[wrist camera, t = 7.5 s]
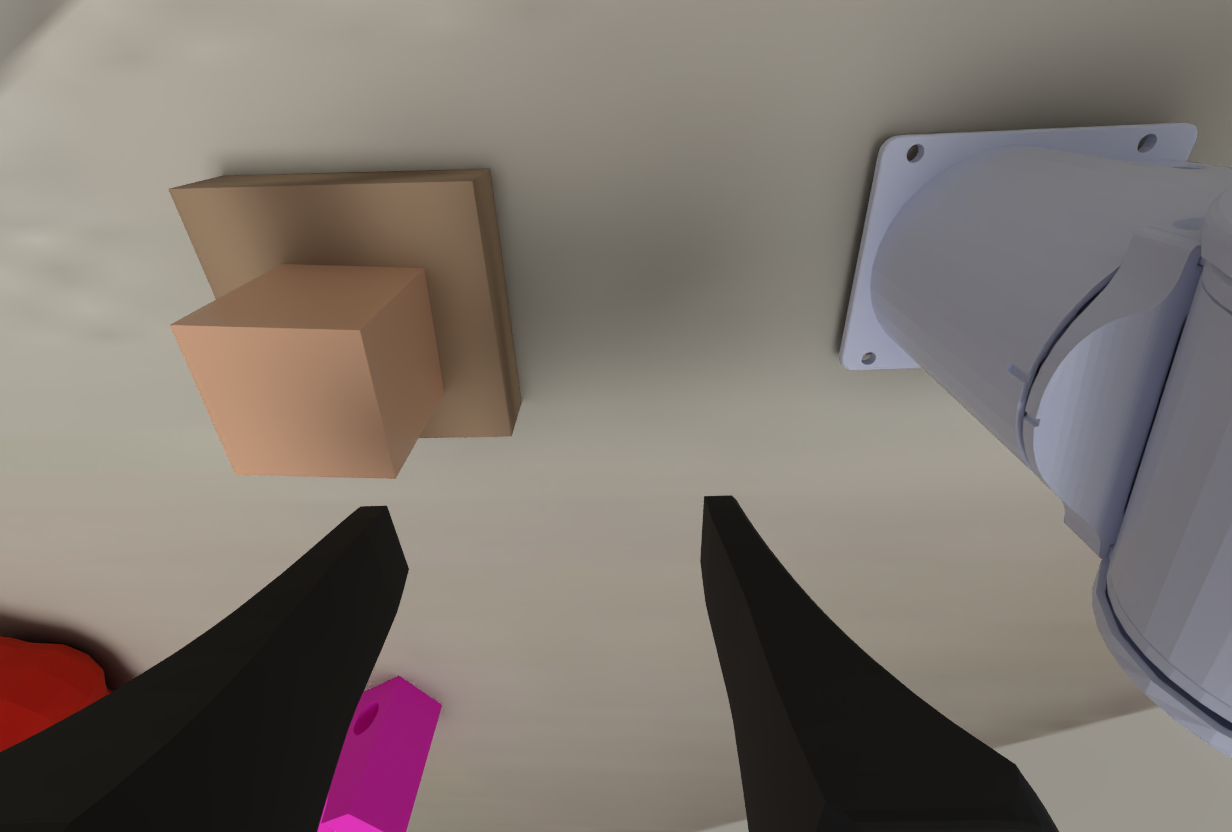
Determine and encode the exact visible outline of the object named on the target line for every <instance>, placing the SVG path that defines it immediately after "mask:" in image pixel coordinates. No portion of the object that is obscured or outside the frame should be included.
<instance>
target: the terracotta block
mask: <svg viewBox="0 0 1232 832" xmlns="http://www.w3.org/2000/svg"><path fill="white" fill-rule="evenodd" d="M170 327H171V329H172V331H173V333H174V336H175V338H176V340H177V343H178V345H179V347H180V349H181V352H182V354H183V356H184V359H185V361H186V363H187V365H188V368H189V370H190V372H191V375H192V377H193V379H194V381H195V384H196V386H197V388H198V391H199V393H200V395H201V397H202V400H203V402H204V404H205V406H206V409H207V411H208V413H209V416H210V418H211V420H212V422H213V425H214V427H215V429H216V432H217V434H218V436H219V438H220V441H221V443H222V445H223V448H224V450H225V452H226V454H227V457H228V459H229V461H230V464H231V466H232V468H233V470H234V473H235V475H270V476H309V477H349V478H389V479H396V477H397V475H398V473H399V472H400V470H401V468H402V466H403V464H404V463H405V461H406V459H407V457H408V456H409V454H410V452H411V450H412V448H413V447H414V445H415V443H416V441H417V440H418V438H419V436H420V434H421V432H422V431H423V429H424V427H425V425H426V423H427V422H428V420H429V418H430V416H431V415H432V413H433V411H434V409H435V407H436V406H437V404H438V402H439V400H440V399H441V397H442V395H443V393H444V387H443V381H442V374H441V368H440V362H439V356H438V350H437V344H436V337H435V331H434V325H433V319H432V313H431V306H430V300H429V294H428V288H427V282H426V276H425V269H424V268H404V267H370V266H335V265H300V264H281V265H279V266H277V267H275V268H273V269H271V270H270V271H268V272H266V273H264V274H262V275H261V276H259V277H257V278H255V279H253V280H251V281H250V282H248V283H246V284H244V285H242V286H240V287H239V288H237V289H235V290H233V291H231V292H229V293H228V294H226V295H224V296H222V297H220V298H218V299H217V300H215V301H213V302H211V303H209V304H207V305H206V306H204V307H202V308H200V309H198V310H196V311H195V312H193V313H191V314H189V315H187V316H186V317H184V318H182V319H180V320H178V321H176V322H175V323H173V324H171V325H170Z"/></svg>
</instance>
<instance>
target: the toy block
mask: <svg viewBox="0 0 1232 832" xmlns="http://www.w3.org/2000/svg"><path fill="white" fill-rule="evenodd" d="M441 707H442V705H441V704H440V703H438V702H437V701H435V700H434V699H432V698H431V697H429V696H428V695H427V694H425V693H424V692H422V691H421V690H419V689H418V688H416V687H415V686H413V685H412V684H410V683H409V682H407V681H406V680H404V679H403V678H402V677H400V676H398V677H395V678H393V679H391V680H389V681H387V682H385V683H382V684H380V685H378V686H376V687H374V688H372V689H369V690H367V691H365V692H363V694H362V696H361V698H360V701H359V703H358V705H357V708H356V710H355V713H354V716H353V718H352V721H351V723H350V726H349V729H348V732H347V735H346V738H345V741H344V744H343V747H342V751H341V754H340V757H339V760H338V763H337V766H336V770H335V773H334V776H333V779H332V783H331V786H330V790H329V793H328V796H327V800H326V803H325V807H324V810H323V814H322V817H321V821H320V824H319V827H318V831H317V832H334V831H336V832H406V830H407V827H408V823H409V819H410V816H411V812H412V809H413V805H414V802H415V798H416V795H417V791H418V788H419V784H420V781H421V777H422V774H423V770H424V767H425V763H426V759H427V756H428V752H429V749H430V745H431V742H432V738H433V735H434V731H435V728H436V724H437V721H438V717H439V714H440V710H441Z"/></svg>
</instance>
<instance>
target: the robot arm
mask: <svg viewBox="0 0 1232 832" xmlns="http://www.w3.org/2000/svg"><path fill="white" fill-rule="evenodd" d="M1144 136H1146V141H1145V143H1144V145H1143V146H1142V147H1141V148H1140V149H1137V148H1138V143H1139V142H1140V140H1141V139H1142V138H1143V137H1144ZM1197 136H1198V130H1197V127H1196V126H1195V125H1194V124H1189V123H1158V124H1136V125H1114V126H1092V127H1069V128H1047V129H1025V130H1002V131H980V132H958V133H936V134H913V135H897V136H893V137H890V138H889V139H888V140H886V141H885V142H884V143H883V145H882V146H881V148H880V150H879V153H878V157H877V162H876V167H875V173H874V178H873V183H872V188H871V193H870V198H869V203H868V209H867V214H866V219H865V224H864V229H863V234H862V239H861V245H860V250H859V255H858V260H857V265H856V270H855V275H854V281H853V286H852V291H851V296H850V301H849V306H848V311H847V317H846V322H845V327H844V332H843V337H842V342H841V347H840V353H839V361H840V363H841V364H842V365H843V367H844V368H846V369H847V370H877V369H906V368H923V369H924V370H925V371H926V372H927V373H928V374H929V375H930V376H931V377H932V378H933V379H934V380H935V381H937V382H938V383H939V384H940V385H941V386H942V387H943V388H944V389H945V390H946V391H947V392H948V393H949V394H950V395H951V396H952V397H954V398H955V399H956V400H957V401H958V402H959V403H960V404H961V405H962V406H963V407H964V408H965V409H966V410H967V411H968V412H969V413H971V414H972V415H973V416H974V417H975V418H976V419H977V420H978V421H979V422H980V423H981V424H982V425H983V426H984V427H985V428H986V429H987V430H989V431H990V432H991V433H992V434H993V435H994V436H995V437H996V438H997V439H998V440H999V441H1000V442H1001V443H1002V444H1003V445H1004V446H1006V447H1007V448H1008V449H1009V450H1010V451H1011V452H1012V453H1013V454H1014V455H1015V456H1016V457H1017V458H1018V459H1019V460H1020V461H1021V462H1023V463H1024V464H1025V465H1026V466H1027V467H1028V468H1029V469H1030V470H1031V471H1032V472H1033V473H1034V474H1035V475H1037V476H1038V477H1039V478H1040V480H1041V481H1042V482H1043V483H1044V484H1045V485H1046V486H1047V487H1048V488H1049V489H1051V490H1052V491H1053V492H1054V493H1055V494H1056V495H1057V496H1058V497H1059V498H1060V499H1061V500H1062V502H1063V505H1064V509H1065V515H1064V523H1065V524H1066V525H1067V526H1068V527H1069V528H1070V529H1071V530H1072V531H1073V532H1074V533H1076V534H1077V535H1078V536H1079V537H1080V538H1081V539H1082V540H1083V541H1084V542H1085V543H1086V544H1087V545H1088V546H1089V547H1090V548H1091V549H1092V550H1093V551H1094V552H1095V553H1096V554H1097V555H1098V556H1099V557H1100V558H1102V559H1103V560H1102V561H1101V563H1100V566H1099V569H1098V572H1097V575H1096V578H1095V581H1094V585H1093V588H1092V606H1093V610H1094V614H1095V619H1096V623H1097V627H1098V629H1099V631H1100V633H1101V635H1102V637H1103V639H1104V641H1105V643H1106V645H1107V647H1108V649H1109V650H1110V652H1111V653H1112V655H1113V656H1114V658H1115V659H1116V660H1117V662H1118V663H1119V665H1120V666H1121V667H1122V669H1123V670H1124V671H1125V673H1126V674H1127V675H1128V676H1129V677H1130V678H1131V679H1132V680H1133V681H1134V682H1135V683H1136V685H1137V686H1138V687H1139V688H1140V689H1141V690H1142V691H1143V692H1144V693H1145V694H1146V695H1147V696H1148V697H1149V698H1150V699H1151V700H1152V701H1154V702H1155V703H1156V704H1157V705H1158V706H1159V707H1160V708H1162V709H1163V710H1164V711H1165V712H1166V713H1167V714H1168V715H1170V716H1171V717H1172V718H1173V719H1174V720H1176V721H1177V722H1178V723H1180V724H1181V725H1182V726H1184V727H1185V728H1187V729H1188V730H1189V731H1191V732H1192V733H1193V734H1195V735H1196V736H1198V737H1199V738H1200V739H1202V740H1203V741H1204V742H1206V743H1207V744H1209V745H1210V746H1212V747H1213V748H1215V749H1217V750H1218V751H1220V752H1222V753H1224V754H1225V755H1227V756H1228V757H1230V758H1232V168H1229V167H1222V166H1215V165H1208V164H1201V163H1194V162H1186V161H1187V159H1188V157H1189V155H1190V153H1191V151H1192V149H1193V146H1194V144H1195V142H1196V139H1197ZM913 145H917V146H918V153H917V155H916V157H915V158H914V159H913V160H911V161H908V160H907V152H908V150H909V149H910V148H911V147H912V146H913ZM869 352H872V355H871V356H870V358H868V359H867V360H862V357H863V355H865V354H866V353H869ZM700 562H701V570H702V578H703V586H704V594H705V602H706V607H707V611H708V615H709V620H710V624H711V628H712V632H713V636H714V640H715V645H716V649H717V653H718V657H719V661H720V665H721V669H722V674H723V678H724V682H725V686H726V690H727V694H728V698H729V703H730V708H731V713H732V718H733V724H734V730H735V737H736V744H737V751H738V757H739V764H740V771H741V778H742V785H743V792H744V800H745V807H746V814H747V821H748V829H749V832H1059V831H1058V829H1057V827H1056V825H1055V824H1054V822H1053V820H1052V819H1051V817H1050V815H1049V814H1048V812H1047V810H1046V809H1045V807H1044V805H1043V804H1042V802H1041V801H1040V799H1039V798H1038V796H1037V794H1036V793H1035V792H1034V790H1033V789H1032V787H1031V786H1030V785H1029V783H1028V782H1027V781H1026V779H1025V778H1024V776H1023V775H1022V774H1021V772H1020V770H1019V769H1018V768H1017V766H1016V765H1015V764H1014V763H1012V762H1011V761H1009V760H1008V759H1006V758H1005V757H1003V756H1002V755H1000V754H999V753H997V752H996V751H995V750H993V749H992V748H990V747H989V746H987V745H986V744H984V743H983V742H981V741H980V740H978V739H977V738H975V737H974V736H972V735H971V734H969V733H968V732H966V731H965V730H963V729H962V728H961V727H959V726H958V725H956V724H955V723H953V722H952V721H950V720H949V719H948V718H946V717H945V716H944V715H942V714H941V713H940V712H938V711H937V710H936V709H934V708H933V707H932V706H930V705H929V704H928V703H926V702H925V701H924V700H922V699H921V698H920V697H918V696H917V695H916V694H914V693H913V692H912V691H911V690H910V689H908V688H907V687H906V686H905V685H904V684H902V683H901V682H900V681H899V680H897V679H896V678H895V677H894V676H893V675H891V674H890V673H889V672H888V671H887V670H885V669H884V668H883V667H882V666H881V665H879V664H878V663H877V662H876V661H875V660H873V659H872V658H871V657H870V656H869V655H868V654H867V653H866V652H864V651H863V650H862V649H861V648H860V647H859V646H858V645H857V644H856V643H855V642H854V641H853V640H851V639H850V638H849V637H848V636H847V635H846V634H845V633H844V632H843V631H842V630H841V629H840V628H839V627H838V626H837V625H836V624H835V623H834V622H833V621H832V620H831V619H830V618H829V617H828V616H827V615H826V614H825V613H824V612H823V611H822V610H821V609H820V608H819V607H818V606H817V604H816V603H815V602H814V601H813V600H812V599H811V598H810V597H809V596H808V595H807V593H806V592H805V591H804V590H803V589H802V588H801V587H800V586H799V584H798V583H797V582H796V581H795V580H794V579H793V577H792V576H791V575H790V574H789V573H788V571H787V570H786V569H785V568H784V566H783V565H782V564H781V563H780V561H779V560H778V559H777V558H776V556H775V555H774V554H773V552H772V551H771V550H770V549H769V547H768V546H767V545H766V543H765V542H764V541H763V539H762V538H761V536H760V535H759V534H758V532H757V531H756V529H755V528H754V527H753V525H752V524H751V522H750V521H749V519H748V518H747V516H746V515H745V513H744V512H743V510H742V508H741V507H740V505H739V504H738V502H737V500H736V499H735V498H734V497H733V496H704V509H703V526H702V543H701V560H700ZM408 570H409V568H408V565H407V562H406V560H405V557H404V554H403V551H402V548H401V545H400V542H399V539H398V536H397V534H396V531H395V528H394V525H393V522H392V519H391V516H390V513H389V510H388V508H387V506H364V507H359V508H358V509H357V510H356V511H354V512H353V513H352V514H351V515H350V516H348V517H347V518H346V519H345V520H344V521H342V522H341V523H340V524H339V525H338V526H337V527H335V528H334V529H333V530H332V531H331V532H330V533H329V534H327V535H326V536H325V537H324V538H323V539H322V540H321V541H319V542H318V543H317V544H316V545H315V546H314V547H312V548H311V549H310V550H309V551H308V552H307V553H305V554H304V555H303V556H302V557H301V558H300V559H298V560H297V561H296V562H295V563H294V564H293V565H291V566H290V567H289V568H288V569H287V570H286V571H284V572H283V573H282V574H281V575H280V576H278V577H277V578H276V579H275V580H273V581H272V582H271V583H269V584H268V585H267V586H266V587H264V588H263V589H262V590H261V591H259V592H258V593H257V594H256V595H254V596H253V597H252V598H251V599H249V600H248V601H247V602H246V603H244V604H243V605H242V606H240V607H239V608H238V609H237V610H235V611H234V612H233V613H231V614H230V615H229V616H227V617H226V618H225V619H223V620H222V621H220V622H219V623H218V624H216V625H215V626H214V627H212V628H211V629H209V630H208V631H206V632H205V633H204V634H202V635H201V636H199V637H198V638H196V639H195V640H193V641H192V642H191V643H189V644H188V645H186V646H185V647H183V648H182V649H180V650H179V651H177V652H176V653H174V654H173V655H171V656H170V657H168V658H166V659H165V660H163V661H161V662H160V663H158V664H157V665H155V666H153V667H152V668H150V669H149V670H147V671H145V672H144V673H142V674H140V675H139V676H137V677H136V678H134V679H132V680H131V681H129V682H128V683H126V684H124V685H123V686H121V687H120V688H118V689H116V690H115V691H113V692H111V693H109V694H108V695H106V696H104V697H102V698H101V699H99V700H97V701H95V702H94V703H92V704H90V705H88V706H87V707H85V708H83V709H81V710H80V711H78V712H76V713H74V714H72V715H70V716H69V717H67V718H65V719H63V720H61V721H59V722H57V723H56V724H54V725H52V726H50V727H48V728H46V729H45V730H43V731H41V732H39V733H37V734H35V735H33V736H31V737H29V738H27V739H25V740H23V741H21V742H19V743H17V744H15V745H13V746H11V747H9V748H7V749H5V750H3V751H1V752H0V832H317V831H318V827H319V824H320V821H321V817H322V814H323V810H324V807H325V803H326V800H327V796H328V793H329V790H330V786H331V783H332V779H333V776H334V773H335V770H336V766H337V763H338V760H339V757H340V754H341V751H342V747H343V744H344V741H345V738H346V735H347V732H348V729H349V726H350V723H351V721H352V718H353V716H354V713H355V710H356V708H357V705H358V703H359V701H360V698H361V696H362V694H363V691H364V689H365V687H366V684H367V682H368V680H369V677H370V675H371V673H372V670H373V668H374V666H375V663H376V661H377V659H378V656H379V654H380V652H381V649H382V647H383V645H384V642H385V640H386V637H387V635H388V633H389V630H390V628H391V625H392V623H393V621H394V618H395V616H396V613H397V610H398V607H399V604H400V600H401V597H402V593H403V590H404V586H405V582H406V578H407V574H408Z"/></svg>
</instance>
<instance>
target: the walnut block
mask: <svg viewBox="0 0 1232 832" xmlns="http://www.w3.org/2000/svg"><path fill="white" fill-rule="evenodd" d="M169 192H170V194H171V196H172V198H173V201H174V203H175V205H176V208H177V210H178V212H179V215H180V217H181V219H182V222H183V224H184V226H185V229H186V231H187V233H188V235H189V238H190V240H191V242H192V245H193V247H194V249H195V252H196V254H197V256H198V259H199V261H200V263H201V266H202V268H203V270H204V272H205V275H206V277H207V279H208V282H209V284H210V286H211V289H212V291H213V293H214V296H215V298H216V300H217V299H218V298H220V297H222V296H224V295H226V294H228V293H229V292H231V291H233V290H235V289H237V288H239V287H240V286H242V285H244V284H246V283H248V282H250V281H251V280H253V279H255V278H257V277H259V276H261V275H262V274H264V273H266V272H268V271H270V270H271V269H273V268H275V267H277V266H279V265H281V264H300V265H335V266H370V267H404V268H424V269H425V276H426V282H427V288H428V294H429V300H430V306H431V313H432V319H433V325H434V331H435V337H436V344H437V350H438V356H439V362H440V368H441V374H442V381H443V387H444V393H443V395H442V397H441V399H440V400H439V402H438V404H437V406H436V407H435V409H434V411H433V413H432V415H431V416H430V418H429V420H428V422H427V423H426V425H425V427H424V429H423V431H422V432H421V434H420V436H419V438H446V437H500V436H512V433H513V430H514V426H515V423H516V419H517V416H518V413H519V409H520V406H521V403H522V402H521V395H520V387H519V380H518V372H517V365H516V358H515V350H514V343H513V335H512V328H511V321H510V313H509V306H508V298H507V291H506V284H505V276H504V269H503V261H502V254H501V247H500V239H499V232H498V224H497V217H496V209H495V202H494V195H493V187H492V180H491V172H490V169H464V170H426V171H388V172H349V173H311V174H273V175H235V176H220V177H216V178H211V179H207V180H203V181H199V182H195V183H191V184H187V185H183V186H179V187H175V188H170V189H169Z"/></svg>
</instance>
